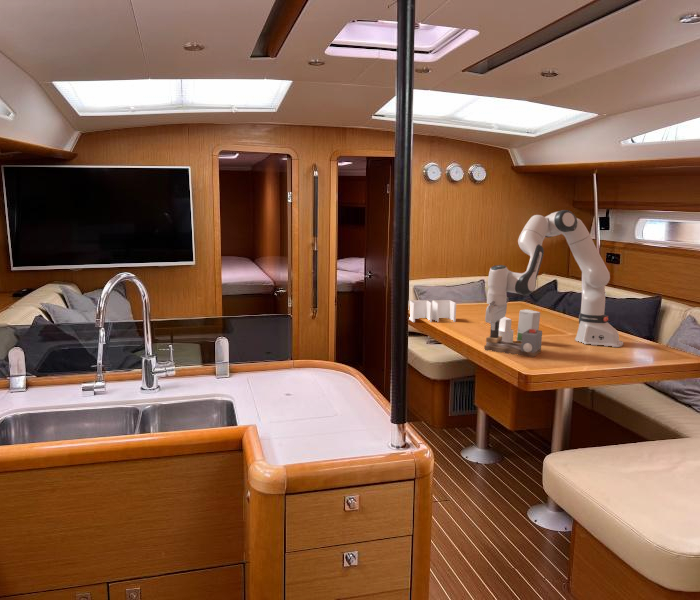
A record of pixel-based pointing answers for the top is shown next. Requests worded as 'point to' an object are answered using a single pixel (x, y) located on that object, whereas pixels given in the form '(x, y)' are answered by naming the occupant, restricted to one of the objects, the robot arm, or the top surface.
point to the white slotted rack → (432, 310)
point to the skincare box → (527, 322)
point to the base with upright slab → (505, 329)
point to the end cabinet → (531, 341)
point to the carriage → (494, 335)
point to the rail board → (508, 348)
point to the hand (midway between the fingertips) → (494, 329)
